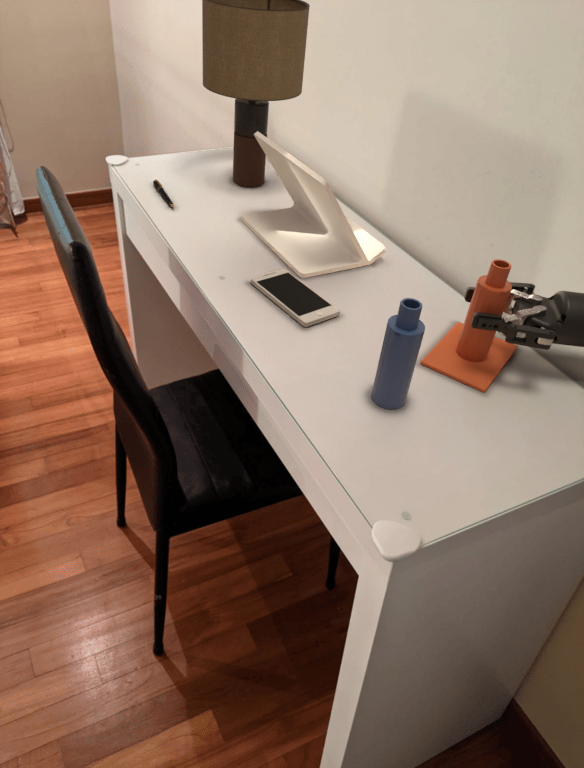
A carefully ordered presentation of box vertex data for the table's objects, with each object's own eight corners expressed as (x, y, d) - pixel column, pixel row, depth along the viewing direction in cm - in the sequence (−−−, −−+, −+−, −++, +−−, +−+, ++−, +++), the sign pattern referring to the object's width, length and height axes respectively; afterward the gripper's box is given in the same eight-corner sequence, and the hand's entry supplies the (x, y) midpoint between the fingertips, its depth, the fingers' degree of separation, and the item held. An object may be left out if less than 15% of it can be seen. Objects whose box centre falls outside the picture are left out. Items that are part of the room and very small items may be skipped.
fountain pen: (177, 210, 122) (176, 203, 121) (171, 211, 122) (171, 204, 121) (156, 183, 132) (156, 176, 131) (151, 183, 131) (150, 177, 130)
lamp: (195, 166, 141) (193, -12, 119) (278, 164, 147) (291, -7, 125) (213, 202, 127) (214, 7, 105) (304, 198, 133) (324, 12, 110)
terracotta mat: (516, 348, 95) (517, 345, 94) (484, 393, 85) (485, 390, 85) (457, 324, 99) (458, 321, 98) (420, 363, 89) (420, 361, 89)
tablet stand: (301, 278, 105) (312, 182, 95) (239, 219, 122) (242, 131, 111) (386, 261, 113) (404, 170, 102) (317, 207, 129) (326, 124, 119)
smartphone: (304, 327, 94) (305, 322, 93) (249, 282, 103) (249, 277, 102) (340, 315, 97) (341, 310, 97) (283, 272, 106) (284, 267, 106)
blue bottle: (410, 396, 83) (436, 303, 74) (395, 414, 80) (420, 318, 71) (381, 382, 85) (403, 289, 76) (365, 399, 82) (385, 304, 73)
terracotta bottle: (492, 360, 91) (525, 271, 81) (464, 363, 89) (495, 273, 80) (477, 342, 94) (507, 254, 84) (450, 345, 93) (478, 256, 83)
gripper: (582, 272, 90) (469, 259, 90) (614, 327, 79) (484, 311, 79) (563, 315, 94) (456, 302, 95) (590, 372, 83) (468, 357, 83)
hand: (469, 306), depth 87 cm, fingers open, 6 cm apart
